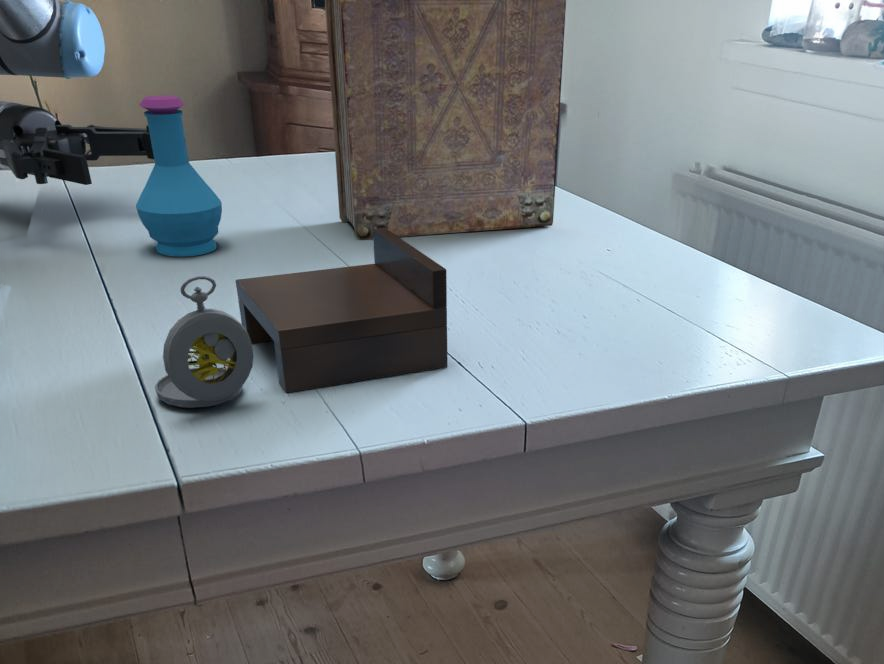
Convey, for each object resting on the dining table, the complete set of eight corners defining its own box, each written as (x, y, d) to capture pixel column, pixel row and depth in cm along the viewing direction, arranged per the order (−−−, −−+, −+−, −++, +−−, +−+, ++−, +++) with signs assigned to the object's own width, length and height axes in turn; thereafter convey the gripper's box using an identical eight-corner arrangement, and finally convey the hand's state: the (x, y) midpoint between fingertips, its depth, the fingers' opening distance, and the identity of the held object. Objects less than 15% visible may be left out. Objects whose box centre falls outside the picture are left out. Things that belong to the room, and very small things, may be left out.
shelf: (286, 393, 73) (273, 290, 68) (243, 336, 83) (229, 243, 78) (447, 367, 78) (446, 269, 73) (389, 316, 88) (384, 227, 83)
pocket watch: (190, 374, 76) (167, 246, 70) (279, 390, 74) (263, 259, 68) (126, 412, 70) (94, 275, 64) (220, 430, 68) (197, 291, 62)
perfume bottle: (185, 264, 101) (158, 107, 92) (127, 251, 105) (95, 98, 95) (244, 245, 107) (224, 96, 98) (187, 233, 111) (162, 89, 102)
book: (353, 240, 109) (332, -81, 91) (339, 221, 116) (316, -81, 98) (553, 226, 116) (571, -77, 97) (529, 209, 123) (540, -77, 104)
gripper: (114, 157, 123) (226, 178, 114) (-64, 190, 107) (49, 218, 97) (101, 93, 119) (216, 109, 109) (-88, 116, 102) (28, 138, 93)
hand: (137, 160), depth 103 cm, fingers open, 13 cm apart
